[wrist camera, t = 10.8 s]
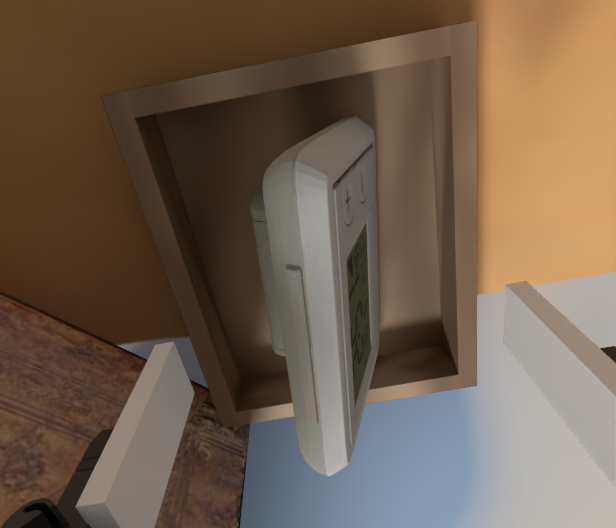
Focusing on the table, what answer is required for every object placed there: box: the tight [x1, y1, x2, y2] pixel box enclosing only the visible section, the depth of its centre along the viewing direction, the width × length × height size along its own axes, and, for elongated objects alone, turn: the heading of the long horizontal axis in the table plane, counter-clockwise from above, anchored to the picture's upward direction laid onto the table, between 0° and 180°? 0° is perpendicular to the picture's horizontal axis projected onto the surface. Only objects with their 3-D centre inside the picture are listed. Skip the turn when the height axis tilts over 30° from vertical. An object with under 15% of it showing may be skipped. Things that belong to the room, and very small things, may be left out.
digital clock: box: [250, 116, 379, 476], centre depth 21 cm, size 16×9×11 cm, turn 174°
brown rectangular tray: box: [100, 20, 477, 428], centre depth 25 cm, size 17×21×4 cm
